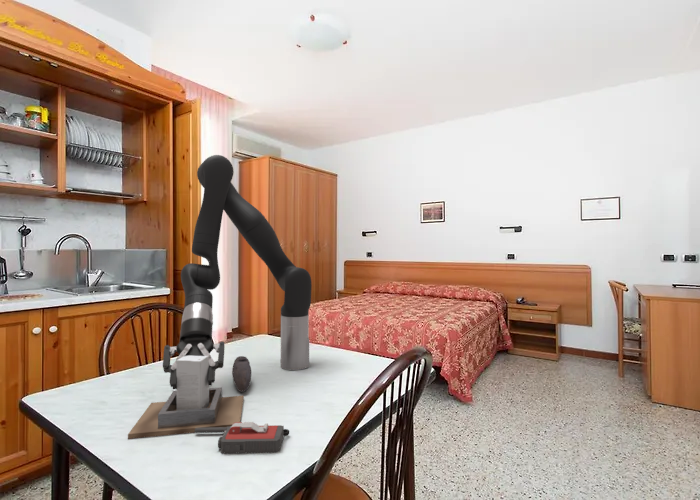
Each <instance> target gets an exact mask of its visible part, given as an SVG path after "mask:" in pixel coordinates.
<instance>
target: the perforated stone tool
mask: <svg viewBox="0 0 700 500" xmlns="http://www.w3.org/2000/svg"><path fill="white" fill-rule="evenodd" d="M250 363H251V362H250V361H249V358H248V357H247V356H243V355H242V356H237V357H236V358H235V359H234V361H233V364H232V371H231V372H232V373H231V374H232V380H233V382H234V384H235V386H236V389H237V390H238V391H240V392H242V393H243V392H245V391H247V390H248V389H249V387H250V384H251V382H252V367H251V364H250Z"/></svg>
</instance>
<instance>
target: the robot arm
mask: <svg viewBox="0 0 700 500" xmlns="http://www.w3.org/2000/svg"><path fill="white" fill-rule="evenodd" d="M196 171H197V172H196V177H197V180H198V183H200V185H201V186H202V187H203V197H202V201H201V207H200V210H199V213H198V217H197V220H196V221H195V222H196V223H195V227H194V232H193V238H192V239H193V240H192V245H191V252H192V254H194V255H195V256H198V257H201V258H204V259H206V261H207V262H208V264H202V263H193V262H192V263H186V264H185V265H184V266H183V267H182V269H181V271H180V280H181V281H180V282H181V284H182V289H183V292H184V306H183V312H182V316H181V325H180V333H179V342H178V343H177V345H176V346H175V345H174V346H170V345H169V344H166V345H164V346H163V347H164V349H163V357H162V359H163V360H162V369H163V372H164V373H166V374H167V373H169V374H170V375H169V385H170V387H171V388H172V390H176V384H177V376H176V360H178V359H180V358H182V357H184V356H186V355H188V356H209V374H208V386H209V387H210V386H212V384H214V383H215V381H216V370H217V369H222V368H223V367H224V360H225V349H226V348H225V345H226V344H225V342H224V341H220V342H218V343H214V342H213V325H214V314H213V300H214V299H213V298H214V297H213V293H212V292H211V290H215V289H216V288H217V287H218V286H219V285H220V282H221V273H220V267H219V261H218V259H219V258H218V252H219V251H218V249H219V243H220V237H221V236H220V234H221V227H222V220H223V213H225V214H226V215H227V217H228V218H229V220H230V221H231V223H233V225H234V226H235V228H236V229H237V230H238V233H239V234H240V235H241V236H242V237H243V239H244V240H245V242H246V243H247V245H249V246H250V247H251V249H252V250H253V251H254V252H255V254H256V255H257V256H258V257H259V258H260V259H261V261H262V262H263V263H264V264H265V265H266V267H267V268H268V269H269V271H270V273H271V275H272V276H273V278H274V279H275V280H276V281H275V282H277V284H278V286H279V288H281V290H282V291H283V292H284V299H283V305H282V306H281V307H280V368H281V369H283V370H286V371H299V370H303V369H309V368H310V338H309V327H310V326H309V325H310V324H309V321H310V320H309V314H310V313H309V312H310V311H309V310H310V307H311V304H312V285H313V284H312V277H311V274H310V272H309V271H308V270H306V269H305V268H303V267H300V266H299V267H298V266H296V265H295V264H294V263H293V262H292V261H291V259H290V258H289V257H288V256H287V255H286V253H285V252H284V250H283V248H282V246H281V243H280V240H279V238H278V236H277V234H276V231H275V229H274V228H273V227H272V225H271V224H270V222H269V221H268V219H267V218H266V217H265V215H264V214H263V213H262V212H261V211H259V209H257V207H255V206H254V205H252V204H251V203H250V202H249V201H247V200H246V199H245V198H244V197H243V196H242V195H241V194H240V193H239V192H238V190H237V189H236V187H235V186H234V184H233V183H232V180H233V177H234V167H233V164H232V163H231V161H230V160H229V159H228V158H227V157H226V156H224V155H220V154H213V155H210V156H209V157H207V158H205V160H203V161H202V162H201V163H200V165H199V166H198V168H197V170H196ZM213 350H215V352H216V353H217V355H218V357H217V360H216V361H215V360H214V359H213V358H212V356H211V352H213ZM176 352H177V354H178V356H177V358H176V360H175V361H174V363H172V365H171V357H173V356H174V355H175V353H176Z"/></svg>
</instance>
